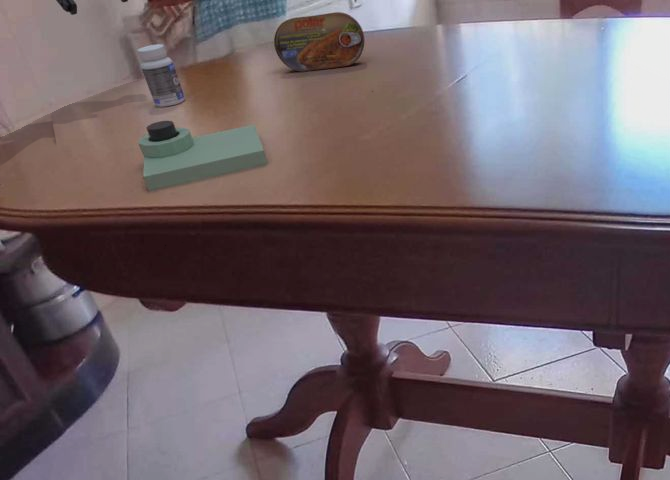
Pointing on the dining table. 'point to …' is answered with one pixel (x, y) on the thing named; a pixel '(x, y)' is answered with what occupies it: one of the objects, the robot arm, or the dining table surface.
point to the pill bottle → (160, 76)
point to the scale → (199, 156)
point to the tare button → (161, 131)
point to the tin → (319, 41)
